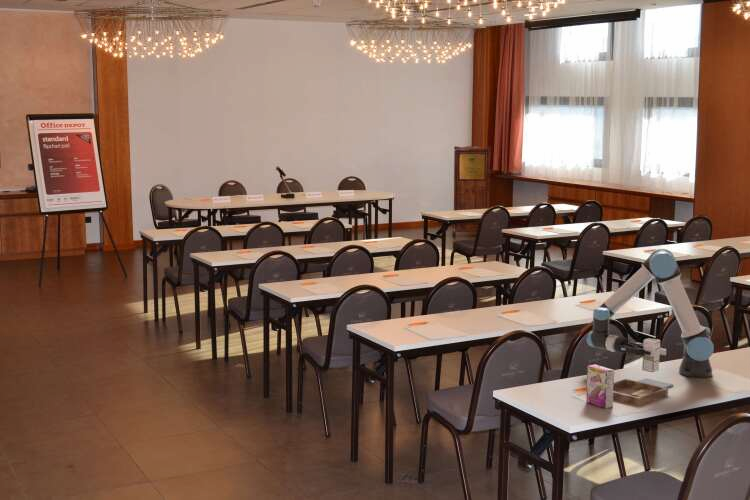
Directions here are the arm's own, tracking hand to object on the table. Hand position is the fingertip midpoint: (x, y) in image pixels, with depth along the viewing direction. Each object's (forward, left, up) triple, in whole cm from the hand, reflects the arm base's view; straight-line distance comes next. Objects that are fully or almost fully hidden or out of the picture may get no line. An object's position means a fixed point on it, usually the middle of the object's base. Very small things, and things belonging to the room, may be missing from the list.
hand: (661, 353), depth 413 cm
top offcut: (+11, +19, -15) cm, 26 cm away
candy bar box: (+30, +31, -16) cm, 46 cm away
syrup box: (+4, -3, -9) cm, 11 cm away
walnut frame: (+14, +15, -16) cm, 26 cm away
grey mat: (+3, -3, -16) cm, 17 cm away
